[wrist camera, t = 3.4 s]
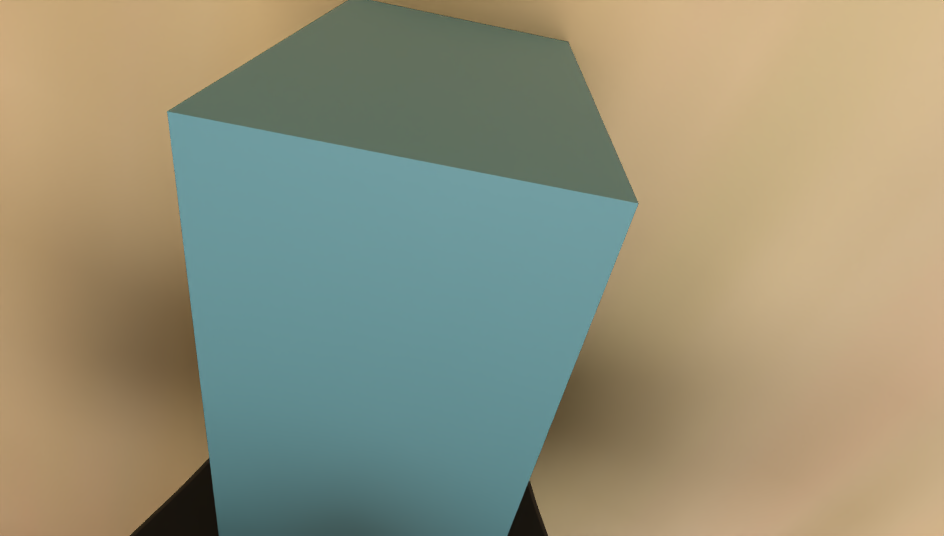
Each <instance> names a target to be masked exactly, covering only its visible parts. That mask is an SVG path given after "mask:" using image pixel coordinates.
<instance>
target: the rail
mask: <svg viewBox="0 0 944 536" xmlns="http://www.w3.org/2000/svg"><path fill="white" fill-rule="evenodd" d="M167 113H168V121H169V130H170V138H171V146H172V154H173V163H174V171H175V179H176V187H177V196H178V204H179V212H180V220H181V228H182V237H183V245H184V253H185V261H186V270H187V278H188V286H189V294H190V302H191V311H192V319H193V327H194V335H195V344H196V352H197V360H198V368H199V377H200V385H201V393H202V401H203V409H204V418H205V426H206V434H207V442H208V451H209V459H210V467H211V475H212V484H213V492H214V500H215V508H216V516H217V525H218V533H219V536H507V535H508V532H509V530H510V527H511V525H512V522H513V520H514V517H515V515H516V512H517V510H518V507H519V505H520V502H521V500H522V497H523V494H524V492H525V489H526V487H527V484H528V482H529V479H530V477H531V474H532V472H533V469H534V467H535V464H536V462H537V459H538V457H539V454H540V451H541V449H542V446H543V444H544V441H545V439H546V436H547V434H548V431H549V429H550V426H551V424H552V421H553V419H554V416H555V413H556V411H557V408H558V406H559V403H560V401H561V398H562V396H563V393H564V391H565V388H566V386H567V383H568V381H569V378H570V376H571V373H572V370H573V368H574V365H575V363H576V360H577V358H578V355H579V353H580V350H581V348H582V345H583V343H584V340H585V338H586V335H587V332H588V330H589V327H590V325H591V322H592V320H593V317H594V315H595V312H596V310H597V307H598V305H599V302H600V300H601V297H602V294H603V292H604V289H605V287H606V284H607V282H608V279H609V277H610V274H611V272H612V269H613V267H614V264H615V262H616V259H617V257H618V254H619V251H620V249H621V246H622V244H623V241H624V239H625V236H626V234H627V231H628V229H629V226H630V224H631V221H632V219H633V216H634V213H635V211H636V208H637V206H638V201H637V199H636V197H635V194H634V192H633V190H632V187H631V185H630V183H629V181H628V178H627V176H626V174H625V171H624V169H623V167H622V164H621V162H620V160H619V158H618V155H617V153H616V151H615V148H614V146H613V144H612V141H611V139H610V137H609V135H608V132H607V130H606V128H605V125H604V123H603V121H602V118H601V116H600V114H599V112H598V109H597V107H596V105H595V102H594V100H593V98H592V95H591V93H590V91H589V89H588V86H587V84H586V82H585V79H584V77H583V75H582V72H581V70H580V68H579V66H578V63H577V61H576V59H575V56H574V54H573V52H572V49H571V47H570V45H569V43H568V42H567V41H562V40H557V39H552V38H548V37H543V36H538V35H533V34H529V33H524V32H519V31H514V30H510V29H505V28H500V27H495V26H491V25H486V24H481V23H477V22H472V21H467V20H462V19H458V18H453V17H448V16H443V15H439V14H434V13H429V12H424V11H420V10H415V9H410V8H405V7H401V6H396V5H391V4H386V3H382V2H377V1H372V0H348V1H346V2H344V3H343V4H341V5H340V6H338V7H336V8H335V9H333V10H331V11H330V12H328V13H327V14H325V15H323V16H322V17H320V18H318V19H317V20H315V21H314V22H312V23H310V24H309V25H307V26H305V27H304V28H302V29H301V30H299V31H297V32H296V33H294V34H292V35H291V36H289V37H288V38H286V39H284V40H283V41H281V42H279V43H278V44H276V45H274V46H273V47H271V48H270V49H268V50H266V51H265V52H263V53H261V54H260V55H258V56H257V57H255V58H253V59H252V60H250V61H248V62H247V63H245V64H244V65H242V66H240V67H239V68H237V69H235V70H234V71H232V72H231V73H229V74H227V75H226V76H224V77H222V78H221V79H219V80H218V81H216V82H214V83H213V84H211V85H209V86H208V87H206V88H205V89H203V90H201V91H200V92H198V93H196V94H195V95H193V96H192V97H190V98H188V99H187V100H185V101H183V102H182V103H180V104H178V105H177V106H175V107H174V108H172V109H170V110H169V111H167Z"/></svg>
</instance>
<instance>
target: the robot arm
mask: <svg viewBox="0 0 944 536" xmlns="http://www.w3.org/2000/svg"><path fill="white" fill-rule="evenodd" d="M130 536H219V533H218V525H217V516H216V508H215V500H214V492H213V484H212V475H211V467H210V459H208V460H207V461H206V462H205V463H204V464H203V465H202V466H201V467H200V468H199V469H198V470H197V471H196V472H195V473H194V474H193V475H192V476H191V477H190V478H189V479H188V480H187V482H186V483H185V484H184V485H183V486H182V487H180V488H179V489H178V490H177V491H176V492H175V493H174V494H173V495H172V496H171V497H170V498H169V499H168V500H167V501H166V502H165V503H164V504H163V505H162V506H161V507H160V508H159V509H157V510H156V511H155V512H154V513H153V514H152V515H151V516H150V517H149V518H148V519H147V520H146V521H145V522H144V523H143V524H142V525H141V526H139V527H138V528H137V529H136V530H135V531H134V532H133V533H132V534H131V535H130ZM507 536H548V534H547V532H546V529H545V526H544V523H543V521H542V518H541V515H540V512H539V509H538V506H537V503H536V500H535V497H534V494H533V490H532V487H531V484H530V481H529V482H528V484H527V487H526V489H525V492H524V494H523V497H522V500H521V502H520V505H519V507H518V510H517V512H516V515H515V517H514V520H513V522H512V525H511V527H510V530H509V532H508V535H507Z"/></svg>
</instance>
